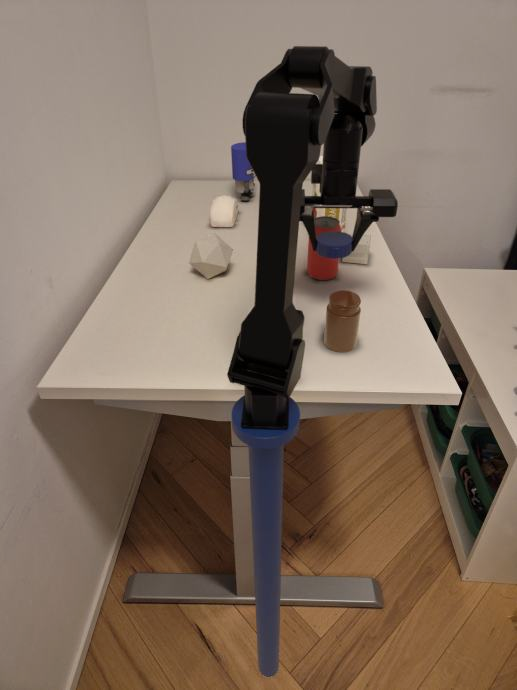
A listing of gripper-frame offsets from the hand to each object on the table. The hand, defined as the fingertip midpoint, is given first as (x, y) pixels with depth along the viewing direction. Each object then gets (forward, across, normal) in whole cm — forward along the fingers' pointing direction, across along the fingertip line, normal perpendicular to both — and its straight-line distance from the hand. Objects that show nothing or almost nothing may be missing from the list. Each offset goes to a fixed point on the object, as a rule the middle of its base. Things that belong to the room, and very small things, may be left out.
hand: (333, 250), depth 82 cm
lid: (-2, 0, 0) cm, 2 cm away
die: (+13, +25, -14) cm, 31 cm away
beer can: (+13, +1, -14) cm, 19 cm away
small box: (+13, -7, -22) cm, 27 cm away
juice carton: (+13, -1, -33) cm, 36 cm away
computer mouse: (+13, +26, -45) cm, 54 cm away
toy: (+13, +22, -62) cm, 67 cm away
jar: (+12, -1, +11) cm, 16 cm away
